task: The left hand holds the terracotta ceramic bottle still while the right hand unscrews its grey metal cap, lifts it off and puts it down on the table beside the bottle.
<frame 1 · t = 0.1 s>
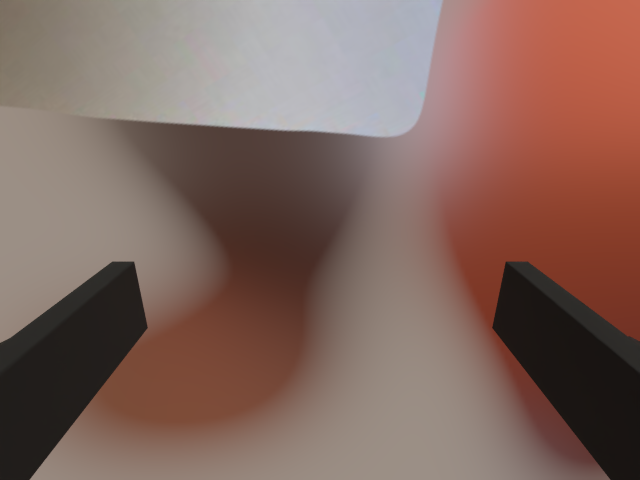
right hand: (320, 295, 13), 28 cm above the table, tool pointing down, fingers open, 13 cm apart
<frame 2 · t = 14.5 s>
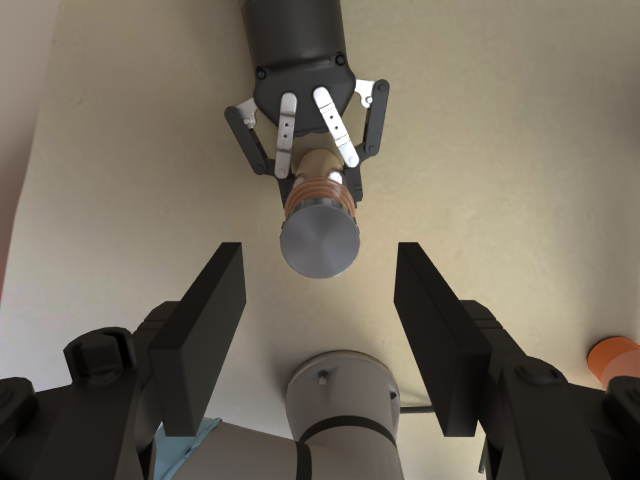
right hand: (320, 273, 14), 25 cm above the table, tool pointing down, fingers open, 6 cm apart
left hand: (324, 210, 33), fingers closed on bottle, 4 cm apart
cap: (320, 241, 18), point 21 cm above the table, screwed on, not yet turned
bottle: (319, 170, 38), on the table, touching left hand
cup with straw: (609, 354, 46), on the table
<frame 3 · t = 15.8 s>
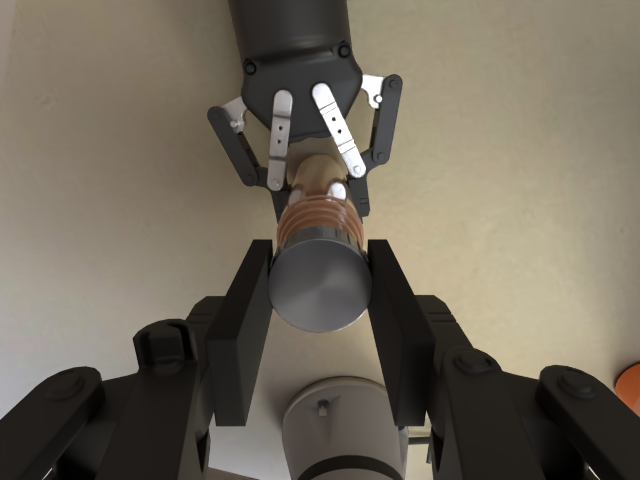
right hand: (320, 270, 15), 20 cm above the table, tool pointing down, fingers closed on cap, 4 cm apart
cap: (320, 284, 13), point 21 cm above the table, screwed on, not yet turned, touching right hand
bottle: (320, 178, 33), on the table, touching left hand
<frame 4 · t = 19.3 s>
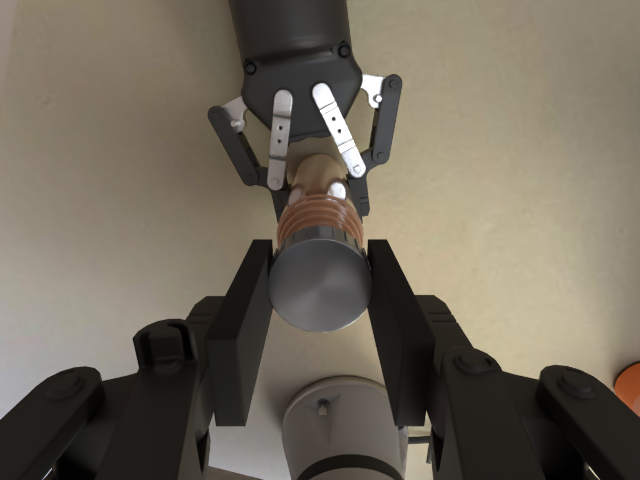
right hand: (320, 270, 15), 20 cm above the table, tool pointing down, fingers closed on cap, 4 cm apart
cap: (320, 284, 13), point 21 cm above the table, turned 109° so far, risen 0.1 cm, still on its thread, touching right hand
bottle: (320, 178, 33), on the table, touching left hand
cup with straw: (639, 380, 42), on the table
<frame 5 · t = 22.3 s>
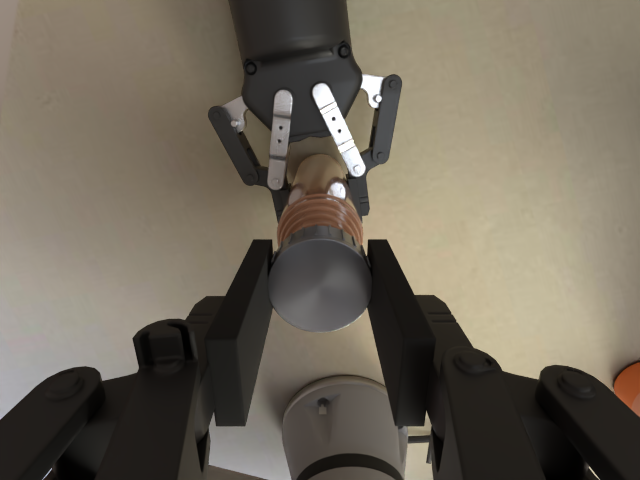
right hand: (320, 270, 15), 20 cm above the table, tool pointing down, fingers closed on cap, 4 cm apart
cap: (320, 284, 13), point 21 cm above the table, turned 218° so far, risen 0.2 cm, still on its thread, touching right hand
bottle: (320, 178, 33), on the table, touching left hand
cup with straw: (638, 379, 42), on the table
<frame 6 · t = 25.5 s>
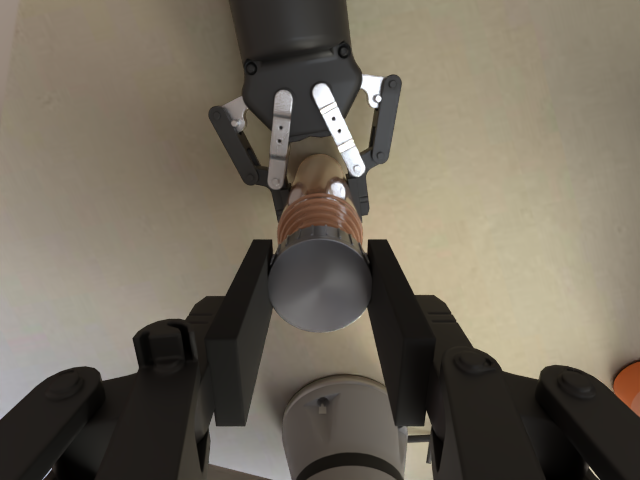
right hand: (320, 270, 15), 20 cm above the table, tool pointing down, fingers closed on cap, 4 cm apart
cap: (320, 284, 13), point 21 cm above the table, turned 327° so far, risen 0.3 cm, still on its thread, touching right hand
bottle: (319, 177, 33), on the table, touching left hand
cup with straw: (637, 379, 42), on the table
when the right hand's fingers open (1 cm above the table, at t = 31.9 s): cap drops 1 cm, point 1 cm above the table.
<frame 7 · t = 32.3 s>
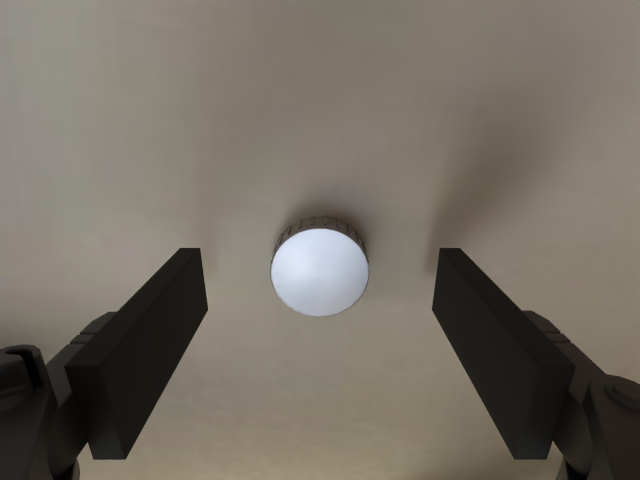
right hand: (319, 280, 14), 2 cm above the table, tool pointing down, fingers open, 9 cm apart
cap: (319, 271, 14), point 1 cm above the table, off its thread
when the left hand's fingers open (6 cm above the table, at t = 33.2 s): bottle stays where it is, on the table.
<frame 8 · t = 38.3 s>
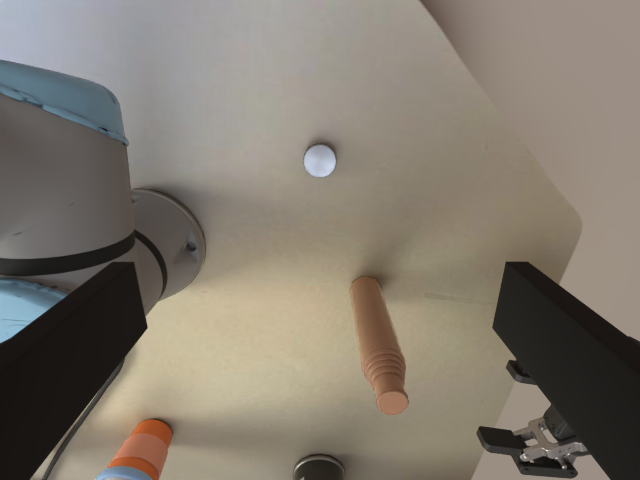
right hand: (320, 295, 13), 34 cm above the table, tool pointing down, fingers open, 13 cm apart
left hand: (495, 405, 34), fingers open, 8 cm apart
cap: (319, 161, 44), point 1 cm above the table, off its thread
bottle: (365, 290, 52), on the table
cup with straw: (155, 431, 61), on the table
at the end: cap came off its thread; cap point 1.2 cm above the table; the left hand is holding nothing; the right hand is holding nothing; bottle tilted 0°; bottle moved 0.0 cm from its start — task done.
